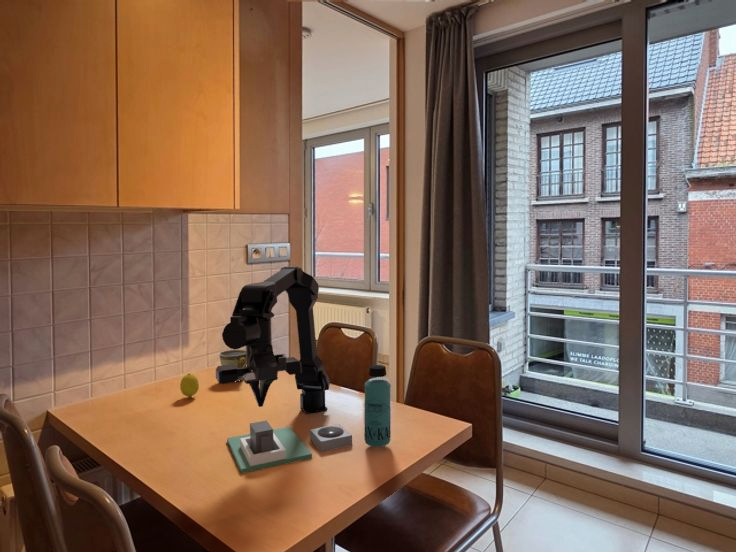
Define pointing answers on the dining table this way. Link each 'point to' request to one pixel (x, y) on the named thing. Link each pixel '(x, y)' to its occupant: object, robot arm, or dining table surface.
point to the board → (284, 451)
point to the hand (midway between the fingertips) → (260, 406)
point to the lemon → (189, 385)
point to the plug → (261, 437)
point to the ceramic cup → (234, 359)
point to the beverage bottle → (377, 408)
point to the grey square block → (330, 437)
